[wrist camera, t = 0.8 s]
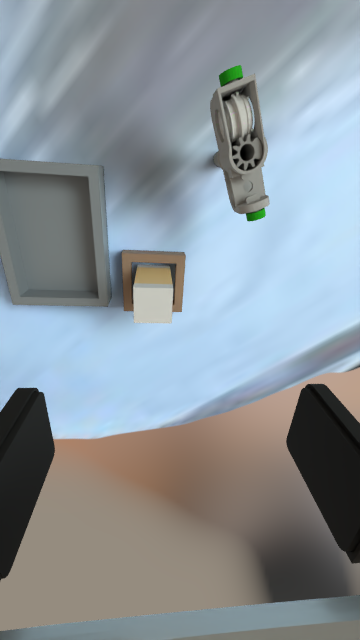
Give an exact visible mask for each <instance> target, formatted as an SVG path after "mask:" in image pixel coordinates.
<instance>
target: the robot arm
mask: <svg viewBox="0 0 360 640" xmlns="http://www.w3.org/2000/svg"><path fill="white" fill-rule="evenodd" d="M286 442H287V447H288V450H289V452H290V454H291V456H292V457H293V459H294V461H295V463H296V465H297V467H298V469H299V471H300V473H301V474H302V477H303V479H304V481H305V482H306V484H307V486H308V488H309V490H310V492H311V494H312V496H313V498H314V500H315V502H316V503H317V506H318V507H319V509H320V511H321V513H322V515H323V517H324V519H325V521H326V523H327V525H328V527H329V529H330V531H331V533H332V534H333V536H334V538H335V540H336V542H337V544H338V546H339V547H340V548H341V550H343V551H346V553H347V555H348V557H349V559H350V561H351V562H352V563H360V423H359V422H358V421H357V420H356V419H355V418H354V417H353V415H352V414H351V413H350V412H349V411H348V410H347V409H346V407H344V405H343V404H342V403H341V402H340V401H339V400H338V398H337V397H336V396H335V395H334V394H333V393H332V392H331V391H330V389H329V388H328V387H327V386H326V385H324V384H308V385H306V387H305V388H303V389H302V390H301V393H300V396H299V399H298V403H297V406H296V410H295V413H294V416H293V419H292V423H291V426H290V429H289V433H288V436H287V441H286ZM54 451H55V448H54V441H53V437H52V432H51V427H50V422H49V417H48V412H47V407H46V402H45V397H44V394H43V392H39V391H38V389H37V388H18V389H17V390H16V391H15V392H14V393H13V395H12V396H11V398H10V399H9V401H8V402H7V403H6V405H5V406H4V408H3V409H2V411H1V412H0V580H1V579H2V578H6V576H8V574H9V572H10V570H11V568H12V565H13V562H14V560H15V557H16V554H17V552H18V549H19V547H20V544H21V541H22V538H23V536H24V533H25V531H26V528H27V526H28V523H29V520H30V518H31V515H32V512H33V510H34V507H35V504H36V502H37V499H38V497H39V494H40V491H41V489H42V486H43V483H44V481H45V478H46V476H47V473H48V470H49V468H50V465H51V462H52V460H53V457H54ZM0 640H360V595H356V596H346V597H334V598H323V599H312V600H301V601H289V602H279V603H268V604H258V605H247V606H236V607H226V608H216V609H205V610H195V611H185V612H174V613H164V614H154V615H144V616H135V617H125V618H115V619H105V620H96V621H86V622H77V623H66V624H56V625H47V626H39V627H31V628H23V629H16V630H7V631H0Z"/></svg>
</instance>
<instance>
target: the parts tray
mask: <svg viewBox="0 0 360 640" xmlns="http://www.w3.org/2000/svg"><path fill="white" fill-rule="evenodd" d="M0 255H1V259H2V263H3V267H4V271H5V275H6V279H7V283H8V287H9V291H10V295H11V299H12V303H13V305H57V306H106V307H108V305H109V302H110V300H111V281H110V265H109V250H108V234H107V218H106V202H105V186H104V170H103V166H97V165H82V164H68V163H54V162H39V161H25V160H11V159H0Z"/></svg>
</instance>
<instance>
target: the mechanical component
mask: <svg viewBox="0 0 360 640" xmlns="http://www.w3.org/2000/svg"><path fill="white" fill-rule="evenodd" d="M242 78H243V74H242V68H241V66H240V65H239V66H235V67H232V68H230V69H228V70H226V71H224V72H223V73H221V74H220V75H219V79H220V85H221V87H220V88H218V89H217V90H216V91H215V93H214V94H213V98H212V100H211V102H210V109H211V117H212V122H213V127H214V131H215V136H216V140H217V145H218V149H219V151H218V152H217V153H216V154H215V155H214V159H213V160H214V164H215V165H216V166H217V167H221V169H222V170H223V172H224V177H225V181H226V186H227V190H228V195H229V199H230V203H231V206H232V208H233V210H234V211H235V212H237V213H239V214H245V213H246V216H247V221H255V220H258V219H261V218H263V217H265V209H264V207H266V206H268V205H269V204H270V203H269V196H267V195H265V189H264V182H263V176H262V170H261V167H263V166H264V162H265V160H266V157H267V152H268V146H267V141H266V139H265V137H264V132H263V125H262V119H261V112H260V105H259V98H258V91H257V84H256V78H255V74H253V75H250V76H248V77H245V78H243V79H242ZM249 98H250V100H251V102H252V105H253V109H254V117H255V125H254V130H253V128H252V124H253V118H252V110H251V106H250V104H249V101H248V99H249Z"/></svg>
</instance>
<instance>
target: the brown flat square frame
mask: <svg viewBox="0 0 360 640" xmlns="http://www.w3.org/2000/svg"><path fill="white" fill-rule="evenodd" d="M185 257H186V255H185V253H184V252H164V251H139V250H123V251H122V273H123V297H124V311H134V299H133V294H132V262H147V263H174V264H176V267H175V286H174V300H173V304H172V312H182V300H183V285H184V271H185Z"/></svg>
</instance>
